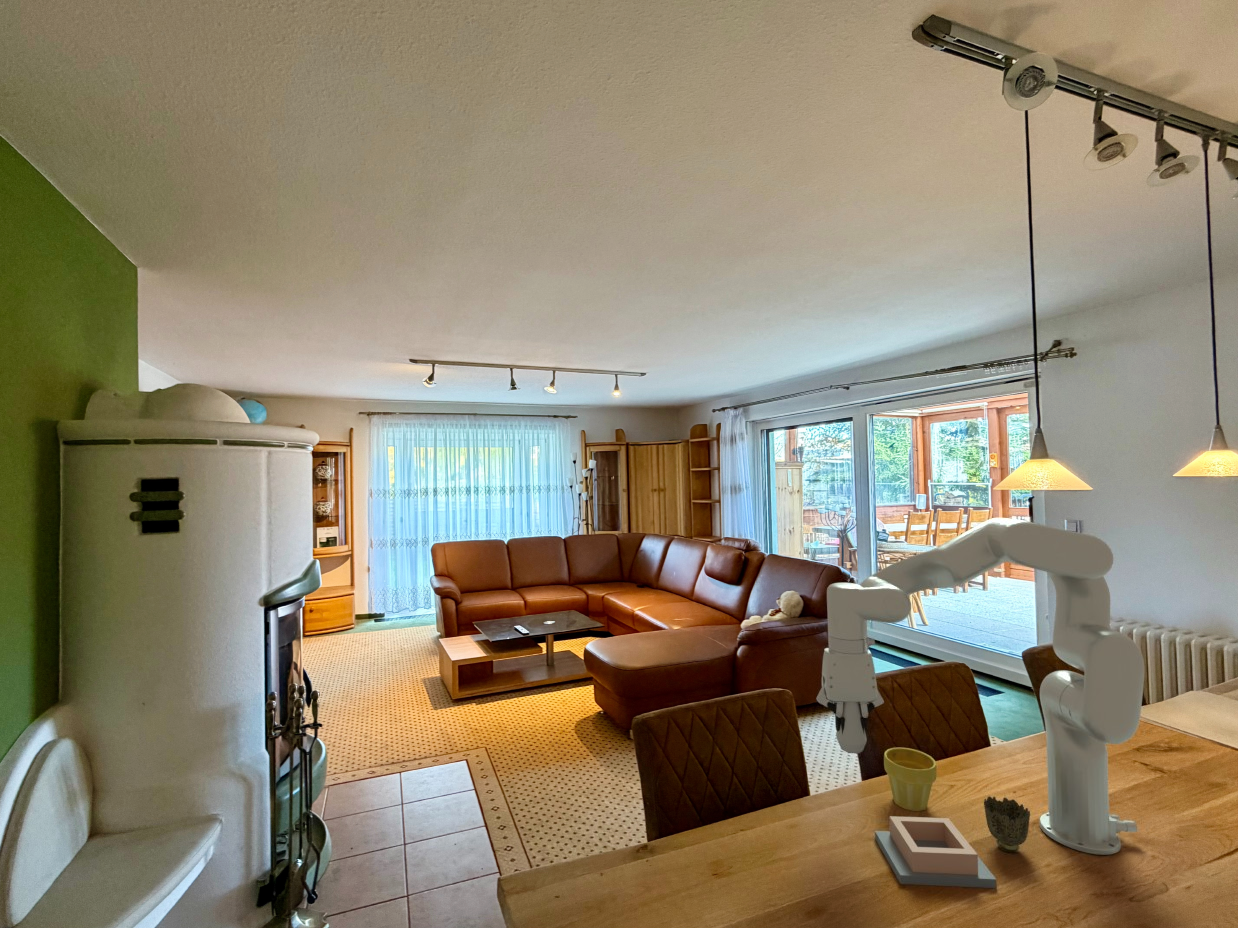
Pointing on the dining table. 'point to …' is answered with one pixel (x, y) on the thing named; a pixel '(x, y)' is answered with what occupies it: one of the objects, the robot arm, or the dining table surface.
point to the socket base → (932, 854)
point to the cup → (1007, 822)
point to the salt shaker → (851, 729)
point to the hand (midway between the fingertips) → (851, 733)
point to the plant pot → (910, 777)
